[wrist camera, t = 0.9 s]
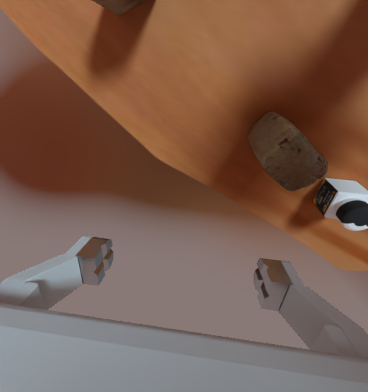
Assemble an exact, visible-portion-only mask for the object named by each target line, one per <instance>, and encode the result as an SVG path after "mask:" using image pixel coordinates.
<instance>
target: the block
mask: <svg viewBox="0 0 368 392" xmlns="http://www.w3.org/2000/svg"><path fill="white" fill-rule="evenodd" d="M248 140H249V143H250V146H251V148H252V150H253V152H254V154H255V156H256V158H257V159H258V161H259V163H260V164H261V166H262V167H263V169H264V170H265V171H266V172H267V173H268V174H269V175H270V176H271V177H272V178H273V179H275V180H276V181H277V182H278V183H279V184H280V185H281V186H282V187H284V188H285V189H287V190H289V191H296V190H299V189H300V188H303V187H307V186H309V185H311V184H313V183H314V182H316V180H317V179H321V178H322V177H324V175H325V174H326V172H327V167H328V163H327V161H326V159H325V158H324V157H323V156H322V155H321V154H320V153H319V152H318V151H317V150H316V149H315V148H314V147H313V145H312V144H311V143H310V142H309V140H308V139H307V138H306V137H305V136H304V135H303V134H302V133H301V132H300V131H299V130H298V129H297V128H296V127H295V126H294V125H293V124H292V123H291V122H290V121H288V120H287V119H286V118H284V117H283V116H281V115H280V114H278V113H276V112H272V111H270V112H267V113H266V114H265V115H264V116H262V117H261V118H260V119H259V120H258V121H257V122H256V123H255V124H254V125H253V127H252V128H251V131H250V133H249V134H248Z"/></svg>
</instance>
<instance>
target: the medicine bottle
mask: <svg viewBox="0 0 368 392" xmlns="http://www.w3.org/2000/svg"><path fill="white" fill-rule="evenodd" d="M313 202H314V203H315V205H316V206H317V207H318V209H319V210H320V212H321V213H322V214H323V216H324V217H325V218H333V219H338V220H339V222H340V223H341V224H342V225H343V227H345V228H346V229H348V230H354V231H359V230H364V229H367V228H368V191H367V190H366V189H365V188H364V187H362V186H361V185H360V184H359V183H357V182H356V181H350V180H340V179H330V178H324V180H323V182H322V184H321V186H320V188H319V190H318V192H317V194H316V196H315V198H314V200H313Z"/></svg>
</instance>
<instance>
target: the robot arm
mask: <svg viewBox="0 0 368 392" xmlns="http://www.w3.org/2000/svg"><path fill="white" fill-rule="evenodd" d="M111 247H112V240H111V239H105V238H98V237H91V236H83V237H82V238H81V239H80V240H79V241H78V242H77V243H76V244H75V245H74V246H73V247H72V248H71V249H70V250H69V251H68V252H67V253H66V254H65V255H63V254H62V255H59V256H57V257H55V258H52V259H50V260H48V261H45V262H43V263H41V264H38V265H36V266H34V267H31V268H29V269H27V270H24V271H22V272H20V273H18V274H15V275H13V276H11V277H8V278H6V279H5V280H4V281H3V282H2V283H0V392H368V334H367V333H366V332H365V330H364V329H363V328H361V327H360V326H359V325H357V324H356V323H355V322H354V321H352V320H351V319H350V318H348V317H347V316H346V315H344V314H343V313H342V312H340V311H339V310H338V309H336V308H335V307H334V306H332V305H331V304H330V303H329V302H327V301H326V300H325V299H323V298H322V297H321V296H319V295H318V294H317V293H315V292H314V291H313V290H311V289H310V288H308V287H305V286H304V284H303V282H302V281H301V279H300V277H299V276H298V274H297V272H296V270H295V269H294V267H293V265H292V264H291V262H289V261H282V260H271V259H263V258H260V259H259V260H258V263H257V265H258V268H257V269H256V270H255V273H254V285H255V289H256V290H257V291H258V292H259V294H258V299H259V303H260V306H261V308H263V309H268V310H274V311H279V313H280V314H281V315H282V316H283V318H284V319H285V320H286V321H287V323H288V324H289V325H290V326H291V327H292V328H293V330H294V331H295V332H296V333H297V334H298V336H299V337H300V338H301V339H302V340H303V341H304V343H305V344H306V345H307V346H308V347H309V348H310V350H308V349H301V348H295V347H288V346H282V345H275V344H269V343H261V342H255V341H249V340H242V339H235V338H229V337H222V336H215V335H208V334H202V333H195V332H188V331H182V330H176V329H169V328H163V327H156V326H149V325H143V324H136V323H129V322H122V321H116V320H110V319H103V318H96V317H90V316H83V315H76V314H69V313H64V312H57V311H50V310H48V309H49V308H51V307H52V306H53V305H55V304H56V303H57V302H59V301H60V300H62V299H63V298H64V297H66V296H67V295H69V294H70V293H72V292H73V291H74V290H76V289H77V288H78V287H80V286H81V285H82V284H91V285H99V284H100V282H101V281H102V279H103V278H104V276H105V271H106V270H108V269H109V268H110V266H111V264H112V261H113V251H112V250H111Z"/></svg>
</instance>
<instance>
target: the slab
mask: <svg viewBox="0 0 368 392" xmlns="http://www.w3.org/2000/svg"><path fill="white" fill-rule="evenodd" d="M92 1H94V2H96V3H98V4H99V5H101V6H103V7H104V8H106V9H108V10H110V11H111V12H113V13H115V14H117V15H118V16H119V15H121V14H123V13H124V12H126V11H128V10H130V9H132V8H133V7H135V6H137V5H139V4H140V3H142V2H144V1H146V0H92Z"/></svg>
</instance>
